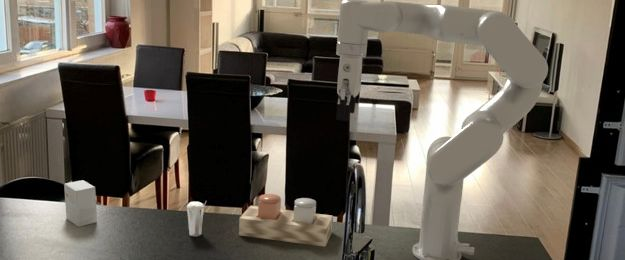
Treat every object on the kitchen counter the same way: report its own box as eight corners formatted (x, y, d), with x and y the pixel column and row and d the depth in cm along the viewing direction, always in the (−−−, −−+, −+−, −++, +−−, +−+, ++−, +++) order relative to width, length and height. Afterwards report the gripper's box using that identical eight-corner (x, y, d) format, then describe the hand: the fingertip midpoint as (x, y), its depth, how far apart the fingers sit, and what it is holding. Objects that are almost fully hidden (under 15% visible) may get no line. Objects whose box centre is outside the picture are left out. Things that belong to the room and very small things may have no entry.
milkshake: (203, 238, 164) (203, 203, 162) (184, 236, 165) (184, 201, 163) (209, 232, 168) (209, 198, 166) (190, 230, 169) (190, 195, 167)
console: (331, 232, 172) (332, 215, 171) (325, 246, 163) (326, 229, 162) (250, 221, 177) (250, 205, 176) (239, 235, 167) (239, 218, 166)
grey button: (316, 219, 170) (317, 199, 169) (312, 227, 165) (313, 206, 163) (296, 216, 171) (297, 197, 170) (291, 224, 166) (292, 204, 164)
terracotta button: (282, 214, 172) (282, 195, 171) (276, 222, 167) (277, 202, 165) (262, 212, 173) (262, 193, 172) (256, 219, 168) (256, 199, 166)
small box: (97, 222, 171) (95, 187, 169) (77, 227, 167) (75, 191, 165) (85, 214, 177) (83, 179, 174) (65, 218, 173) (63, 183, 171)
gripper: (361, 55, 145) (355, 125, 149) (370, 48, 161) (364, 111, 166) (330, 51, 146) (324, 121, 150) (342, 45, 163) (336, 108, 167)
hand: (345, 116), depth 158 cm, fingers open, 9 cm apart
